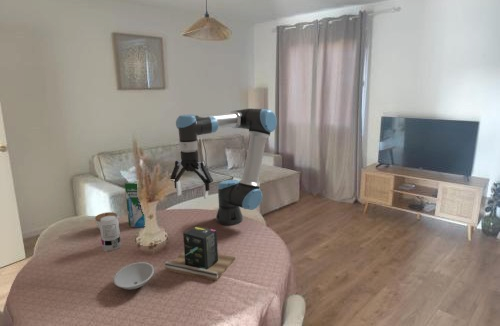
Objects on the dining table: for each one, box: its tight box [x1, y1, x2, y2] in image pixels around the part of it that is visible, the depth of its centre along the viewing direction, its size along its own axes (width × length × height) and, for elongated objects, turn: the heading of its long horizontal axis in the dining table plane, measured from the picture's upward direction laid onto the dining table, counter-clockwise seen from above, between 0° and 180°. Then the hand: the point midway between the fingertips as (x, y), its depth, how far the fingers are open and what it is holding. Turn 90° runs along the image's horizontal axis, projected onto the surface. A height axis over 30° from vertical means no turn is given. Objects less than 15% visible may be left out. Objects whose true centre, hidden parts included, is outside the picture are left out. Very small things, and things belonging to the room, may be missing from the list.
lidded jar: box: [94, 211, 118, 230], centre depth 179 cm, size 11×11×9 cm
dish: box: [113, 261, 155, 290], centre depth 128 cm, size 18×14×5 cm
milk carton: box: [124, 180, 145, 228], centre depth 184 cm, size 9×9×25 cm
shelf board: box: [164, 251, 236, 282], centre depth 143 cm, size 18×24×3 cm
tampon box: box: [182, 225, 219, 270], centre depth 140 cm, size 11×9×15 cm
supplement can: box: [99, 215, 122, 252], centre depth 157 cm, size 8×8×15 cm
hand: (192, 196), depth 150 cm, fingers open, 13 cm apart
